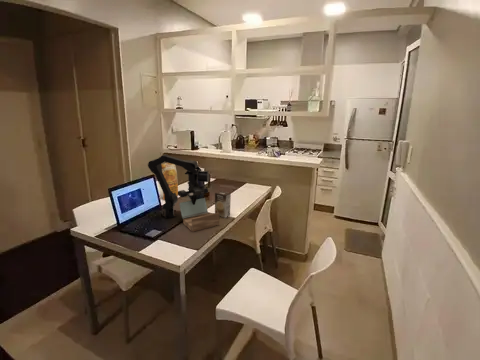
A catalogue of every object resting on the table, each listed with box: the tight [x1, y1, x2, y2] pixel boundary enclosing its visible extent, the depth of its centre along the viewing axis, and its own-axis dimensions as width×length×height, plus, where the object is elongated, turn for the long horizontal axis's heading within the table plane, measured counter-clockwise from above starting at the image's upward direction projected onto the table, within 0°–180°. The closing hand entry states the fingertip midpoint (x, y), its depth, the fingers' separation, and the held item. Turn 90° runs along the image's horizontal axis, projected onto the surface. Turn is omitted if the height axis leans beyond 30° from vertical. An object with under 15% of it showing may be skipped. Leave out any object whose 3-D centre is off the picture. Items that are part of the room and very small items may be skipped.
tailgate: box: [178, 197, 209, 220], centre depth 176 cm, size 2×18×10 cm, turn 124°
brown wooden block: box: [182, 212, 220, 232], centre depth 168 cm, size 14×18×8 cm
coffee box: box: [214, 190, 232, 219], centre depth 182 cm, size 9×6×16 cm
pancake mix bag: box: [161, 162, 179, 201], centre depth 213 cm, size 7×19×28 cm, turn 147°
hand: (193, 204), depth 175 cm, fingers closed, pressing on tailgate
